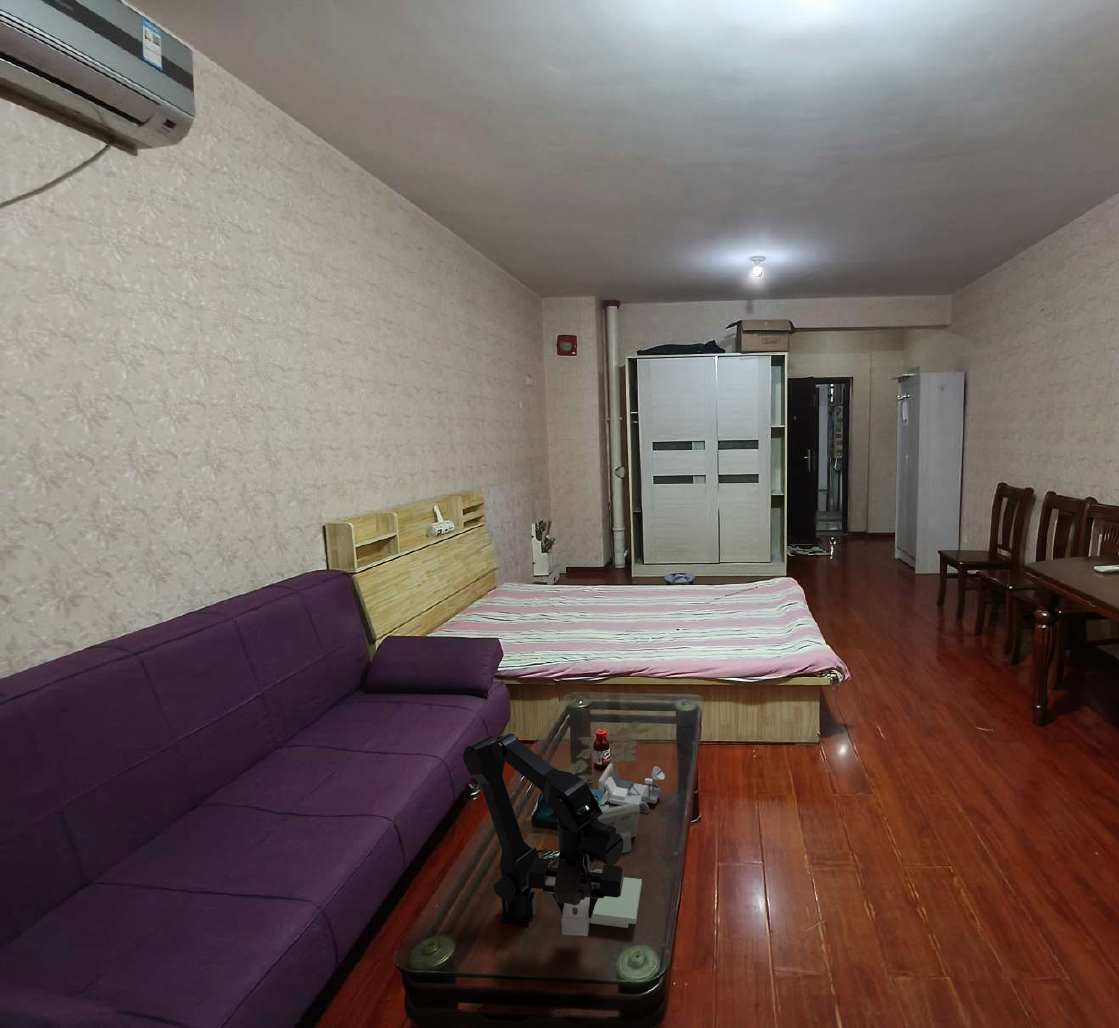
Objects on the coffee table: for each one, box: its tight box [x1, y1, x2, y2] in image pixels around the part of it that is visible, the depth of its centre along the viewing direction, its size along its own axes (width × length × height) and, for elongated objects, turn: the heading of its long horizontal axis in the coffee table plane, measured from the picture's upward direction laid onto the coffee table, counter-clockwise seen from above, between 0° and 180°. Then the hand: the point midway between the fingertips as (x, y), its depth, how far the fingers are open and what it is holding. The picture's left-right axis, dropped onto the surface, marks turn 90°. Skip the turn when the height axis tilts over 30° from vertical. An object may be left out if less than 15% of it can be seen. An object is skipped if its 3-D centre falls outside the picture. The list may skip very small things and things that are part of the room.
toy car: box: [597, 763, 665, 814], centre depth 185 cm, size 18×10×12 cm
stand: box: [589, 876, 643, 929], centre depth 143 cm, size 12×12×4 cm
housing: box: [560, 897, 591, 937], centre depth 132 cm, size 5×8×4 cm, turn 172°
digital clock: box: [598, 803, 641, 854], centre depth 165 cm, size 16×9×11 cm, turn 94°
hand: (577, 915), depth 132 cm, fingers closed on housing, 5 cm apart
